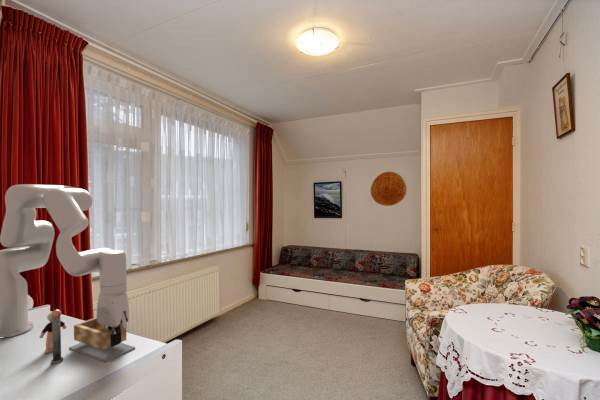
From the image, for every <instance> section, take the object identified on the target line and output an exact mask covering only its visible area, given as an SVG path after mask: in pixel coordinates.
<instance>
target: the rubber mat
mask: <svg viewBox="0 0 600 400" xmlns="http://www.w3.org/2000/svg"><path fill="white" fill-rule="evenodd" d="M68 348H69V350H70V351H74V352H77V353H79V354H82V355H83V356H87V357H90V358H92V359H95V360H97V361H100V362H103V363H104V364H108V363H110V362H112V361H113V360H115V359H118V358H119V357H122V356H124V355H126V354H127V353H130V352H131V351H132V352H133V351H134V350H135V349H136V347H135V346H134V345H133V346H132V345H129V344H127V343H124V342H121V343H120V344H118V345H116V346H113V347H110V348H108V349H106V350H102V349H99V348H96V347H93V346H90V345H87V344H84V343H81V342H79V343H77V344H75V345H72V346H69V347H68Z"/></svg>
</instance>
